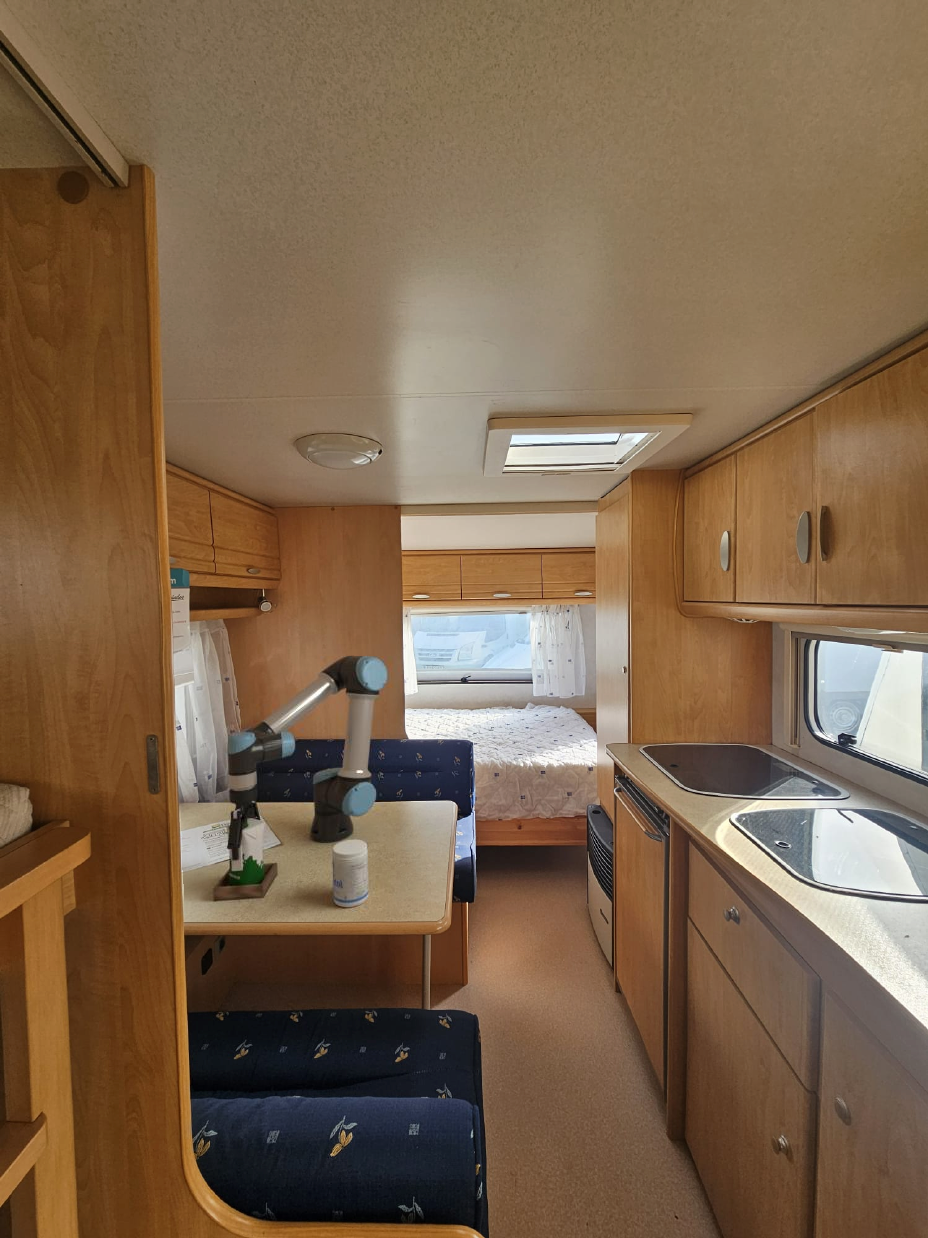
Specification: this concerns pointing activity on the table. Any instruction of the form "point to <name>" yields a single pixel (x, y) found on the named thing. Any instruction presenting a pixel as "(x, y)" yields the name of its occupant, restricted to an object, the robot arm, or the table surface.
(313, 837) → the robot arm
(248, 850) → the soya milk
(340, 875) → the supplement tub
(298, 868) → the table surface
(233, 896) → the tray
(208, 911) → the table surface
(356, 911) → the table surface
